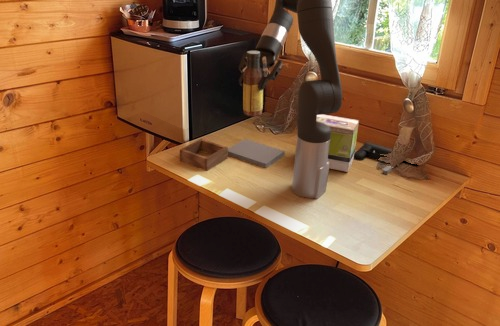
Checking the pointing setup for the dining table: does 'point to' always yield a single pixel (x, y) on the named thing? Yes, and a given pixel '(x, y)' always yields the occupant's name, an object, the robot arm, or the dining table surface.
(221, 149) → the box
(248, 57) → the sauce bottle
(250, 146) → the slate board
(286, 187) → the dining table surface
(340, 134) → the tea box
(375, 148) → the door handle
